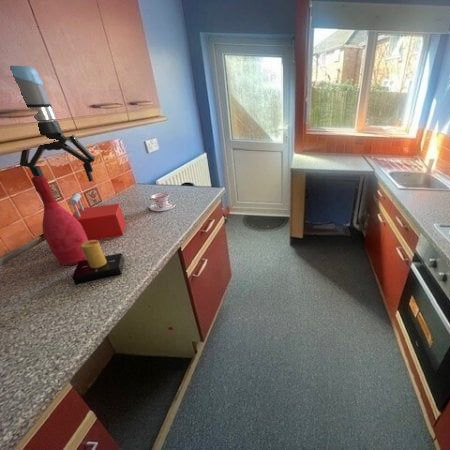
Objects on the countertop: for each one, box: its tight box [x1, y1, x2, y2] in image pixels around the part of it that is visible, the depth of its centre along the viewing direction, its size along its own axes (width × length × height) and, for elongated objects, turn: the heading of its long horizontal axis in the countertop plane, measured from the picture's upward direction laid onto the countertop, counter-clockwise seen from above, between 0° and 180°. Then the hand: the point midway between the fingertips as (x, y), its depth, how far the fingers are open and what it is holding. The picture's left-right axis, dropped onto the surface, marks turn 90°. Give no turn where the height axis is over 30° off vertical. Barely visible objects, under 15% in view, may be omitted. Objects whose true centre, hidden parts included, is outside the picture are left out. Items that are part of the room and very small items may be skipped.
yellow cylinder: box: [81, 239, 107, 268], centre depth 79 cm, size 4×4×8 cm
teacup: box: [149, 192, 176, 212], centre depth 127 cm, size 12×12×6 cm
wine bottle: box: [31, 176, 88, 266], centre depth 81 cm, size 10×10×30 cm
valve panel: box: [71, 252, 125, 286], centre depth 82 cm, size 12×9×3 cm
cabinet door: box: [67, 192, 121, 221], centre depth 98 cm, size 15×12×8 cm
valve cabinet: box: [78, 205, 127, 241], centre depth 103 cm, size 14×12×9 cm
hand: (68, 182), depth 92 cm, fingers open, 13 cm apart
